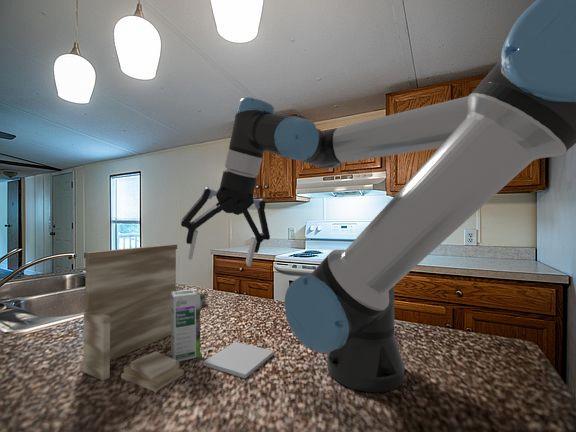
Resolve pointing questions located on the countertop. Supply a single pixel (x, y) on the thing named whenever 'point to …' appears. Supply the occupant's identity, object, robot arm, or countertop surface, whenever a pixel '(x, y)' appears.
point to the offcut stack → (153, 371)
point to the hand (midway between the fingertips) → (220, 260)
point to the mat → (239, 359)
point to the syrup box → (185, 324)
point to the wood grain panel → (126, 303)
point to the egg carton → (202, 299)
